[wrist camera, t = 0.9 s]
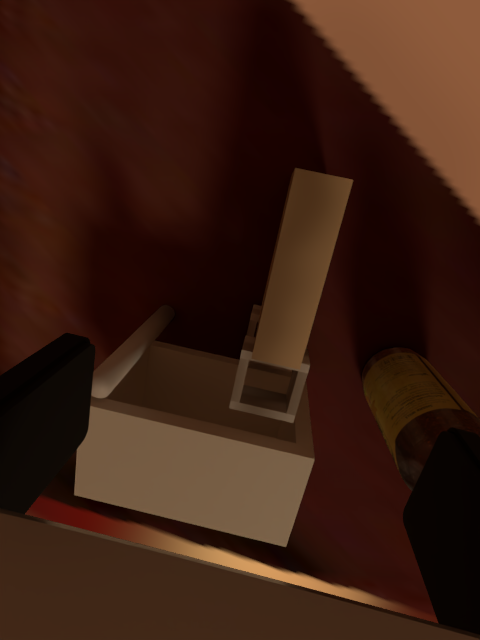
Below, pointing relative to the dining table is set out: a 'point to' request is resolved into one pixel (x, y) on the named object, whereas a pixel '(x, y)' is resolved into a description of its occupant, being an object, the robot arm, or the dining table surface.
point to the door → (292, 292)
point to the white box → (192, 440)
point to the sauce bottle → (412, 407)
